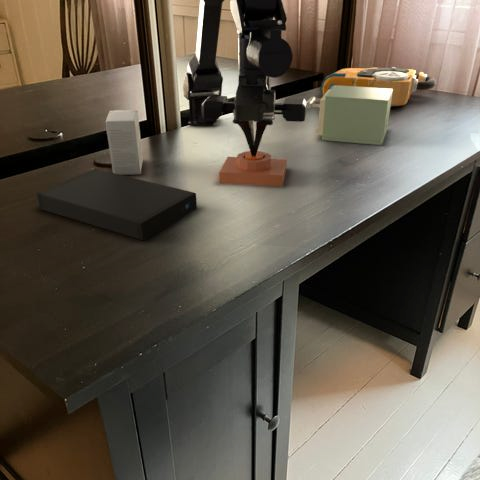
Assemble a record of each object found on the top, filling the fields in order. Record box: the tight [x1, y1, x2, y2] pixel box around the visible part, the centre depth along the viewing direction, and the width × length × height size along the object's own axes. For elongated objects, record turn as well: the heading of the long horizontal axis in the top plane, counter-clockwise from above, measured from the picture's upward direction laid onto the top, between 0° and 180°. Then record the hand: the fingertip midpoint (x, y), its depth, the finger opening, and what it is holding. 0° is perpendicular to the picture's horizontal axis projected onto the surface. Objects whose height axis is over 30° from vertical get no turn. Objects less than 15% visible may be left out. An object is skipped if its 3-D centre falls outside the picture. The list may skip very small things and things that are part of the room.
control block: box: [218, 150, 288, 187], centre depth 103 cm, size 12×9×4 cm
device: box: [320, 66, 437, 108], centre depth 152 cm, size 23×8×30 cm
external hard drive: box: [36, 168, 198, 242], centre depth 91 cm, size 14×23×3 cm, turn 58°
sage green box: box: [321, 85, 393, 146], centre depth 123 cm, size 14×12×10 cm
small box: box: [105, 109, 144, 176], centre depth 106 cm, size 8×6×10 cm
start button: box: [245, 153, 263, 160], centre depth 103 cm, size 4×4×2 cm
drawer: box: [306, 90, 330, 136], centre depth 124 cm, size 16×10×8 cm, turn 72°
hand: (254, 155), depth 102 cm, fingers closed, pressing on start button
